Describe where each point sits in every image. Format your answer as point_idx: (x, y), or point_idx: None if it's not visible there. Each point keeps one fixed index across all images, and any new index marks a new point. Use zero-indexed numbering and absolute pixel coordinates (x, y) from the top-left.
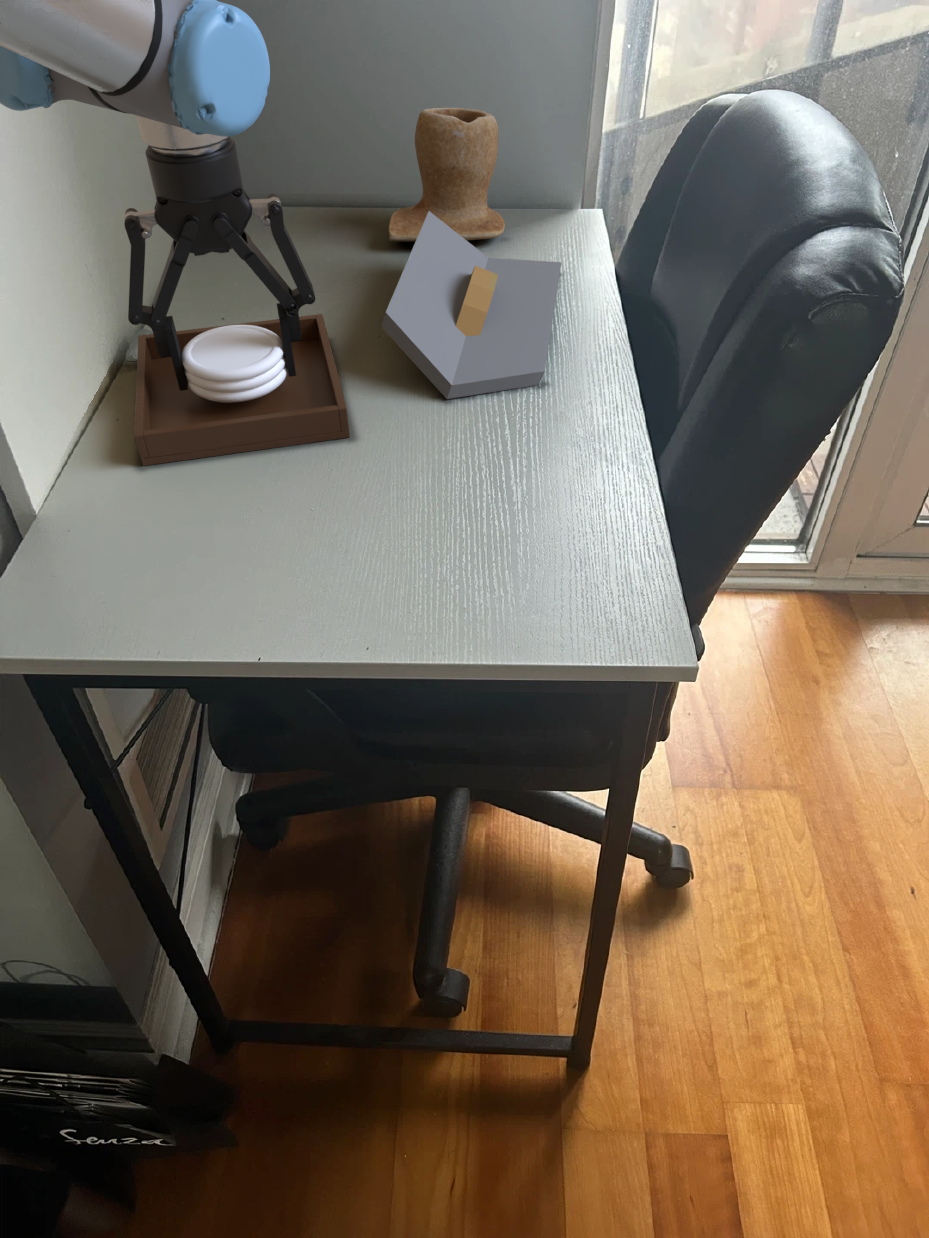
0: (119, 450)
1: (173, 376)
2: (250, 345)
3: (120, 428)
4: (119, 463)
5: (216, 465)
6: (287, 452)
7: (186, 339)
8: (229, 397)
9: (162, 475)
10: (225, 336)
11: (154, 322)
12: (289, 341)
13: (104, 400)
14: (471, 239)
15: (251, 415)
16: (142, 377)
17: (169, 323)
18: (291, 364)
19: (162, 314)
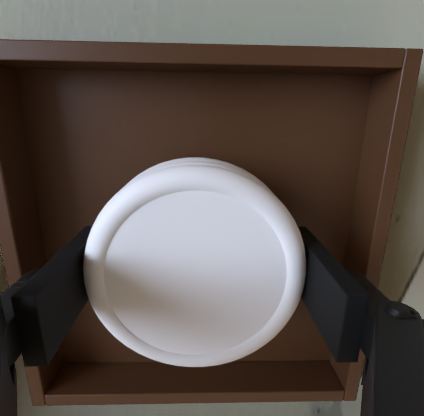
0: (410, 126)
1: (302, 306)
2: (154, 281)
3: (397, 193)
4: (417, 84)
5: (257, 28)
6: (127, 36)
7: (276, 382)
8: (217, 160)
9: (353, 21)
10: (207, 329)
11: (407, 310)
12: (54, 258)
13: (407, 278)
14: None
15: (183, 156)
16: (370, 269)
17: (350, 326)
18: (81, 235)
19: (389, 328)
